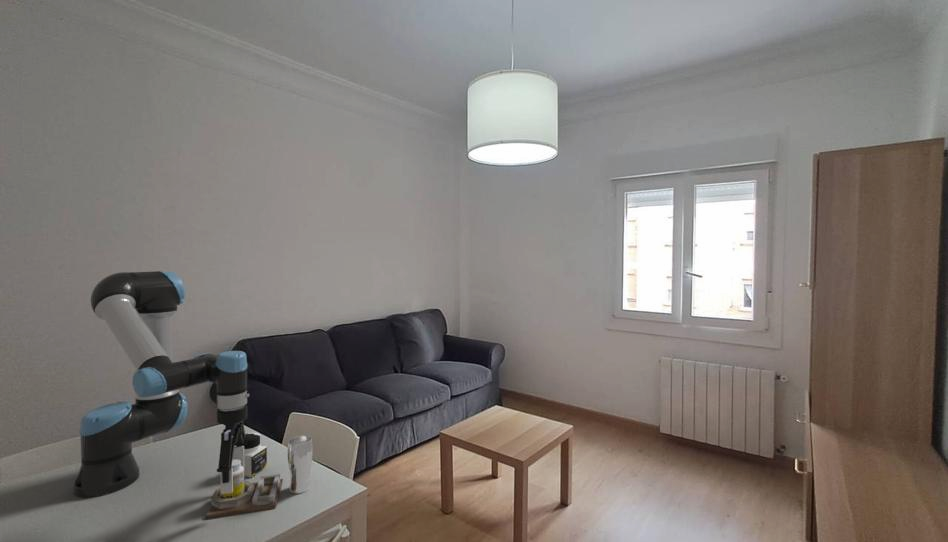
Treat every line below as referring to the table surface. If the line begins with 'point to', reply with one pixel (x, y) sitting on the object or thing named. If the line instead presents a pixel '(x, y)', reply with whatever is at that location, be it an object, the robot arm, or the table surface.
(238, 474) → the supplement bottle
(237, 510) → the socket board
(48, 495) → the table surface
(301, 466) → the beer glass
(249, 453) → the medicine bottle
